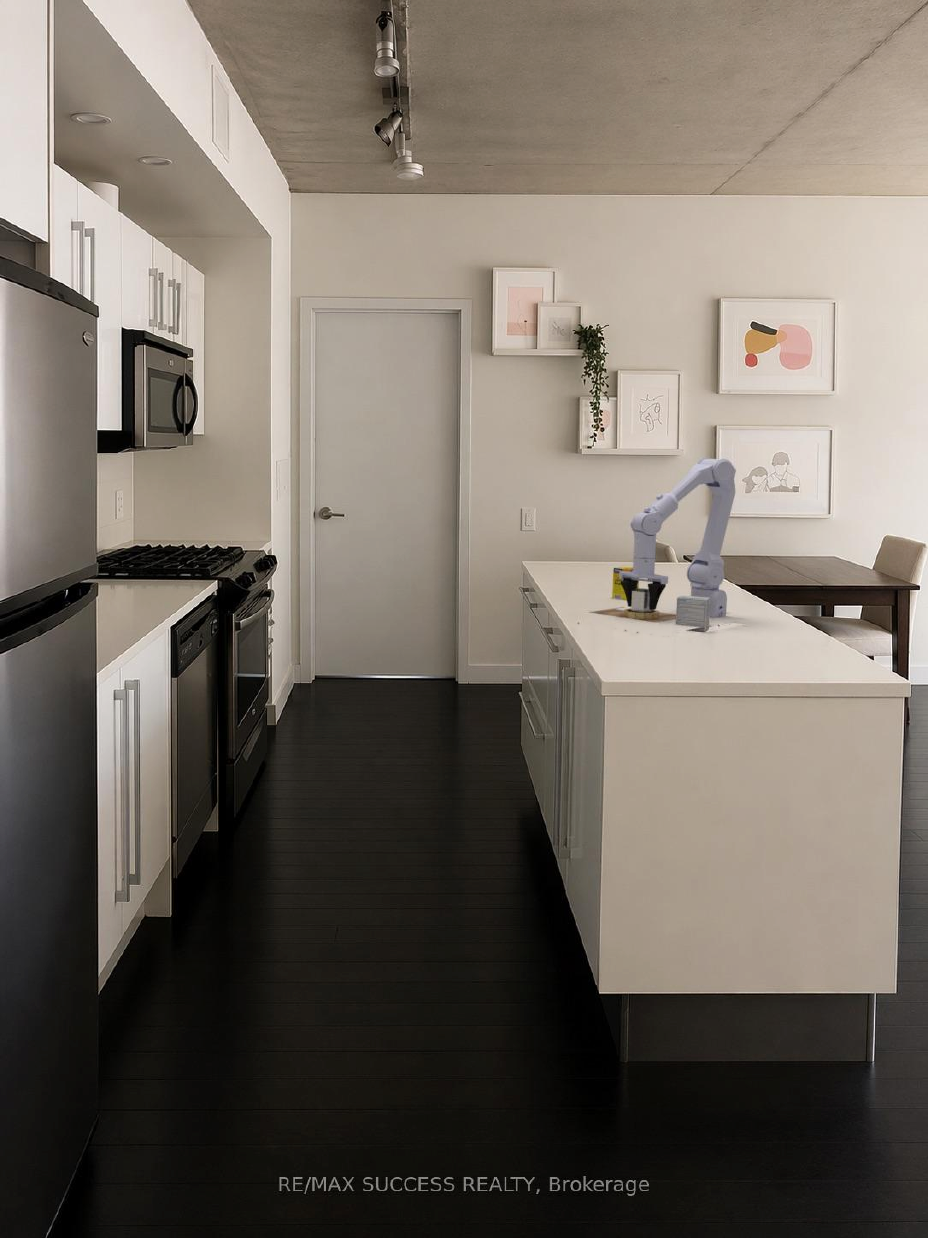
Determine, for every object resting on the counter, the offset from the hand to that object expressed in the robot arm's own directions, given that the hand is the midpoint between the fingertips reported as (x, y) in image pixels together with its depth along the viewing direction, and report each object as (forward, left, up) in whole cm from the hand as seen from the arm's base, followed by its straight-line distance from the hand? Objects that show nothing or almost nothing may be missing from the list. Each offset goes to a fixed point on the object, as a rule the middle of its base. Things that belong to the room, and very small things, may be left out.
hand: (641, 607), depth 306 cm
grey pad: (+8, -7, -2) cm, 11 cm away
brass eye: (0, 0, -2) cm, 2 cm away
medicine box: (-16, 0, -4) cm, 17 cm away
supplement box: (+24, -26, -4) cm, 36 cm away
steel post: (0, 0, -2) cm, 2 cm away
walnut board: (+3, -3, -4) cm, 6 cm away
